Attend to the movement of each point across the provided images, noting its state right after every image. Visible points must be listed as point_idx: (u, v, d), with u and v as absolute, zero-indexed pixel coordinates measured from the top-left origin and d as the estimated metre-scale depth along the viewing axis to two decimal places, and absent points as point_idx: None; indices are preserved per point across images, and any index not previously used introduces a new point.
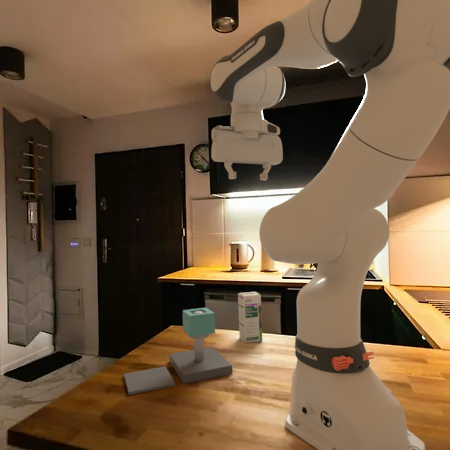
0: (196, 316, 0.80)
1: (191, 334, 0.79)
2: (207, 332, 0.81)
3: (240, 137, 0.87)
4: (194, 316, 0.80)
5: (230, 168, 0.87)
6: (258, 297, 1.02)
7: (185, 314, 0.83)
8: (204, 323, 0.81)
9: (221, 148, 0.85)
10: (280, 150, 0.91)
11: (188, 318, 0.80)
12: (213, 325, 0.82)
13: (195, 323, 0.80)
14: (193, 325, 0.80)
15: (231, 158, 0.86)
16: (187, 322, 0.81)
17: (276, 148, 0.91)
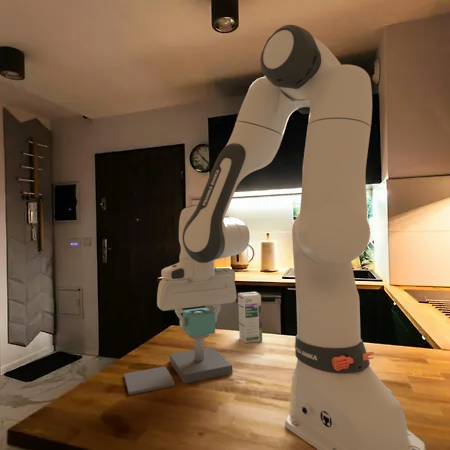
0: (196, 316, 0.80)
1: (191, 334, 0.79)
2: (207, 332, 0.81)
3: None
4: (194, 316, 0.80)
5: None
6: (258, 297, 1.02)
7: (185, 314, 0.83)
8: (204, 323, 0.81)
9: None
10: None
11: (188, 318, 0.80)
12: (213, 325, 0.82)
13: (195, 323, 0.80)
14: (193, 325, 0.80)
15: None
16: (187, 322, 0.81)
17: None
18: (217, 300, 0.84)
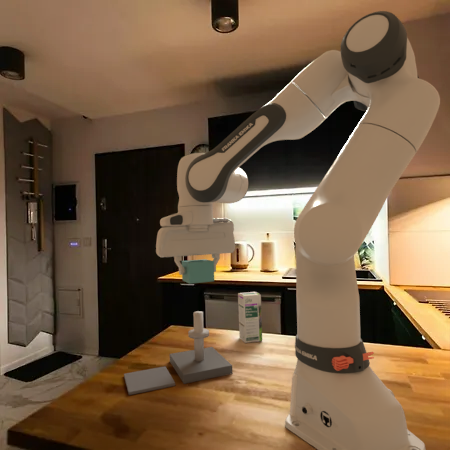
0: (195, 263, 0.80)
1: (190, 281, 0.80)
2: (206, 280, 0.81)
3: None
4: (193, 263, 0.80)
5: None
6: (258, 297, 1.02)
7: (184, 263, 0.83)
8: (203, 271, 0.81)
9: None
10: None
11: (187, 265, 0.80)
12: (212, 273, 0.82)
13: (194, 270, 0.80)
14: (192, 272, 0.80)
15: None
16: (186, 270, 0.81)
17: None
18: (216, 249, 0.84)
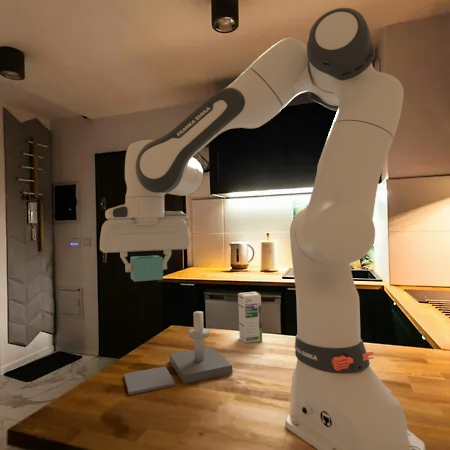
0: (141, 259, 0.73)
1: (135, 278, 0.73)
2: (154, 278, 0.74)
3: None
4: (139, 259, 0.73)
5: None
6: (258, 297, 1.01)
7: (131, 259, 0.76)
8: (150, 268, 0.74)
9: None
10: None
11: (133, 262, 0.74)
12: (161, 270, 0.75)
13: (140, 267, 0.73)
14: (138, 269, 0.73)
15: None
16: (132, 267, 0.75)
17: None
18: (167, 245, 0.77)
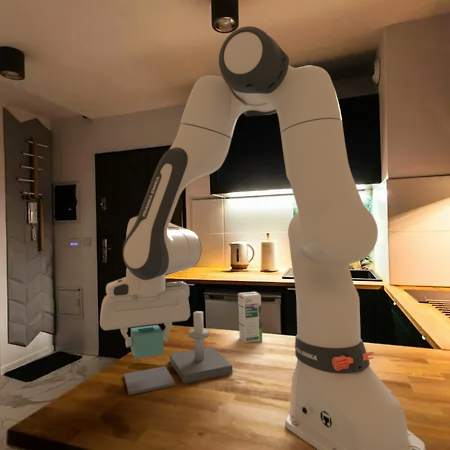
0: (142, 336, 0.73)
1: (136, 356, 0.73)
2: (154, 353, 0.74)
3: None
4: (139, 336, 0.73)
5: None
6: (258, 297, 1.02)
7: (132, 333, 0.76)
8: (151, 344, 0.74)
9: None
10: None
11: (133, 338, 0.73)
12: (161, 346, 0.75)
13: (141, 344, 0.73)
14: (138, 346, 0.73)
15: None
16: (133, 342, 0.74)
17: None
18: (167, 318, 0.77)
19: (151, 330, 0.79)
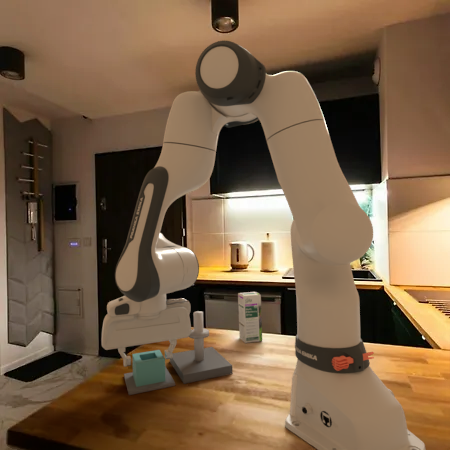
0: (144, 363, 0.73)
1: (138, 384, 0.72)
2: (156, 380, 0.74)
3: None
4: (141, 364, 0.73)
5: None
6: (258, 297, 1.02)
7: (133, 360, 0.76)
8: (152, 371, 0.74)
9: None
10: None
11: (135, 365, 0.73)
12: (163, 372, 0.75)
13: (142, 371, 0.73)
14: (140, 373, 0.73)
15: None
16: (135, 369, 0.74)
17: None
18: (169, 336, 0.77)
19: (153, 355, 0.79)
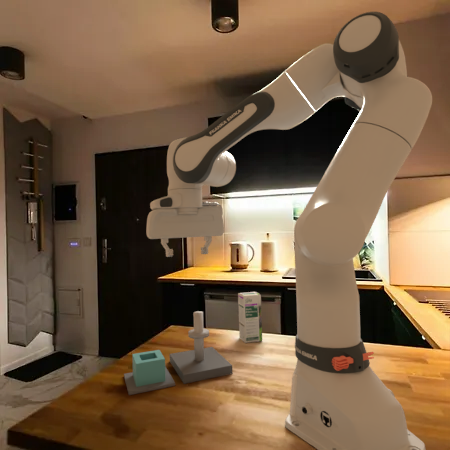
0: (144, 363, 0.73)
1: (138, 384, 0.72)
2: (156, 380, 0.74)
3: None
4: (141, 364, 0.73)
5: None
6: (258, 297, 1.02)
7: (133, 360, 0.76)
8: (152, 371, 0.74)
9: None
10: None
11: (135, 365, 0.73)
12: (163, 372, 0.75)
13: (142, 371, 0.73)
14: (140, 373, 0.73)
15: None
16: (135, 369, 0.74)
17: None
18: (205, 232, 0.86)
19: (153, 355, 0.79)
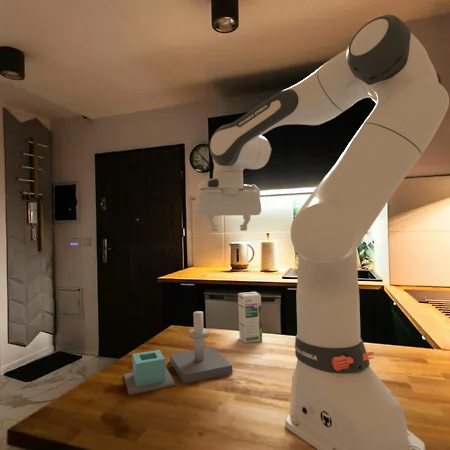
0: (144, 363, 0.73)
1: (138, 384, 0.72)
2: (156, 380, 0.74)
3: None
4: (141, 364, 0.73)
5: None
6: (258, 297, 1.02)
7: (133, 360, 0.76)
8: (152, 371, 0.74)
9: None
10: None
11: (135, 365, 0.73)
12: (163, 372, 0.75)
13: (142, 371, 0.73)
14: (140, 373, 0.73)
15: None
16: (135, 369, 0.74)
17: None
18: (245, 211, 0.97)
19: (153, 355, 0.79)
